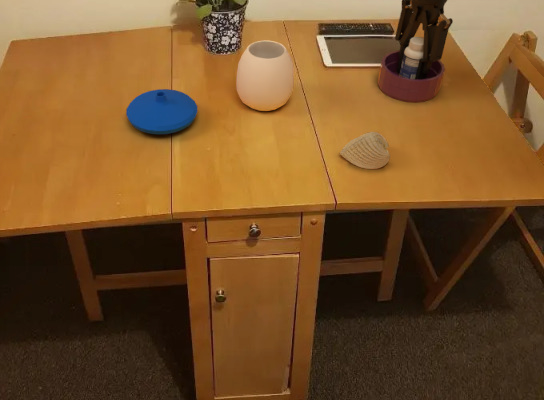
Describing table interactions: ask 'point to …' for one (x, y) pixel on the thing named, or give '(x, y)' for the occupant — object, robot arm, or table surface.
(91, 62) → the table surface
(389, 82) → the bowl
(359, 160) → the seashell
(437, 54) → the robot arm
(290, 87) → the white rounded pot
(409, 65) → the pill bottle
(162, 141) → the table surface
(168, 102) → the blue lid with knob
